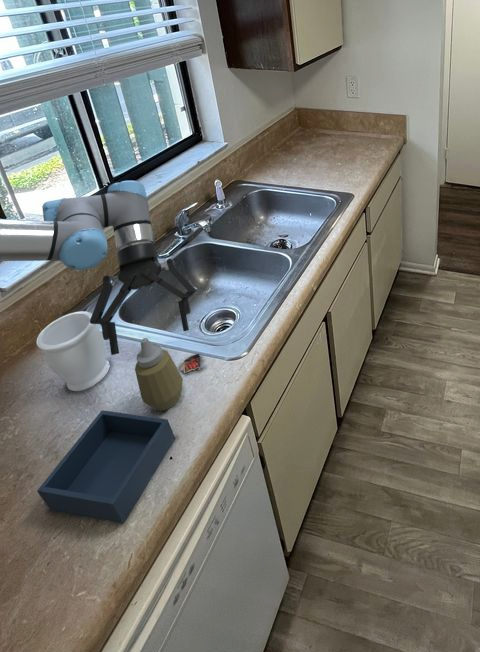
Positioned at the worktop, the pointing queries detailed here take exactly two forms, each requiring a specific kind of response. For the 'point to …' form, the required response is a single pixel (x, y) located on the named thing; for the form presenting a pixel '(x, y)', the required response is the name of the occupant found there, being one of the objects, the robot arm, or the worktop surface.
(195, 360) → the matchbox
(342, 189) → the worktop surface
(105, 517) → the bin
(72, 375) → the jar
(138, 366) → the squeeze bottle
